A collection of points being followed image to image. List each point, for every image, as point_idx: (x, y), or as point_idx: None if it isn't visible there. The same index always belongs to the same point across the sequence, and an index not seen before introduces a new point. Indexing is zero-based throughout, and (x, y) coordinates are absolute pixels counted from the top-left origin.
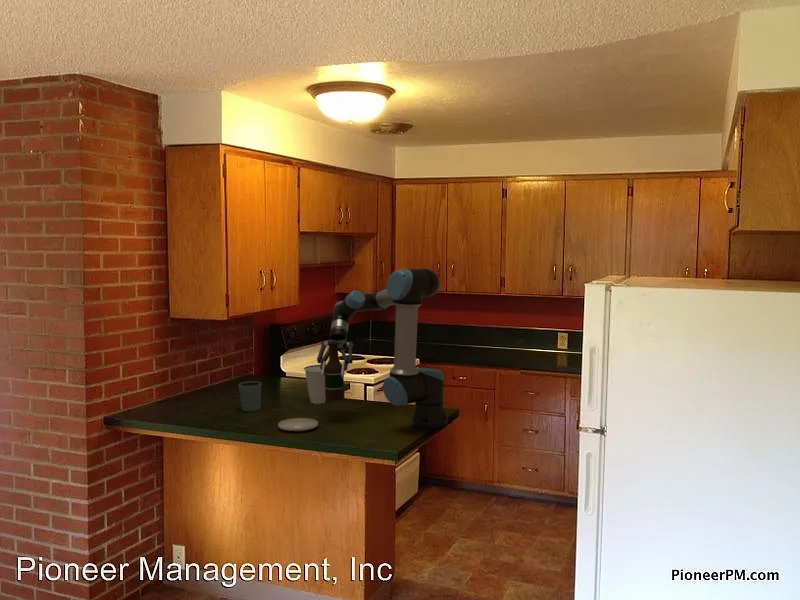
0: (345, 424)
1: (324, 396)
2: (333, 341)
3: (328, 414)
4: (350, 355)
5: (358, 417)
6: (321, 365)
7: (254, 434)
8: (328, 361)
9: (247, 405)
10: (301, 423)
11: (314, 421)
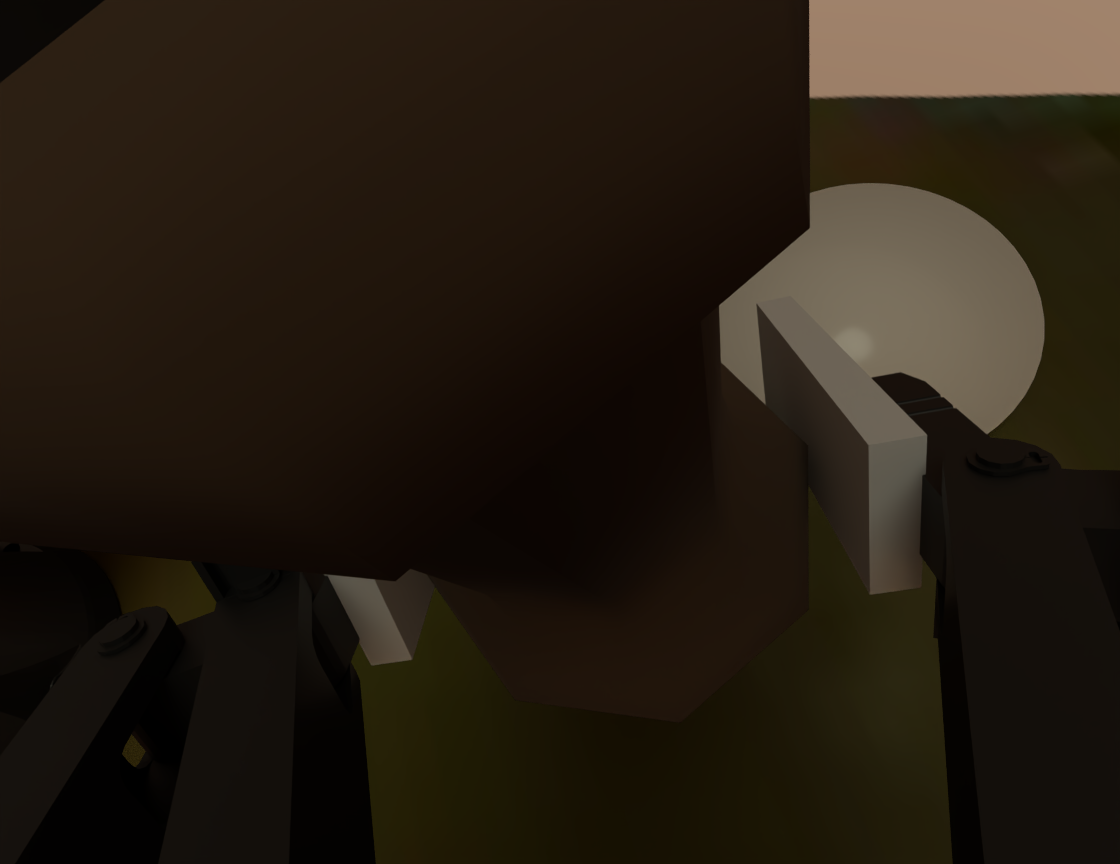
0: None
1: None
2: (113, 42)
3: (818, 817)
4: (34, 758)
5: (514, 754)
6: (918, 408)
7: (1080, 109)
8: (739, 419)
9: None
10: (836, 315)
11: (762, 394)
